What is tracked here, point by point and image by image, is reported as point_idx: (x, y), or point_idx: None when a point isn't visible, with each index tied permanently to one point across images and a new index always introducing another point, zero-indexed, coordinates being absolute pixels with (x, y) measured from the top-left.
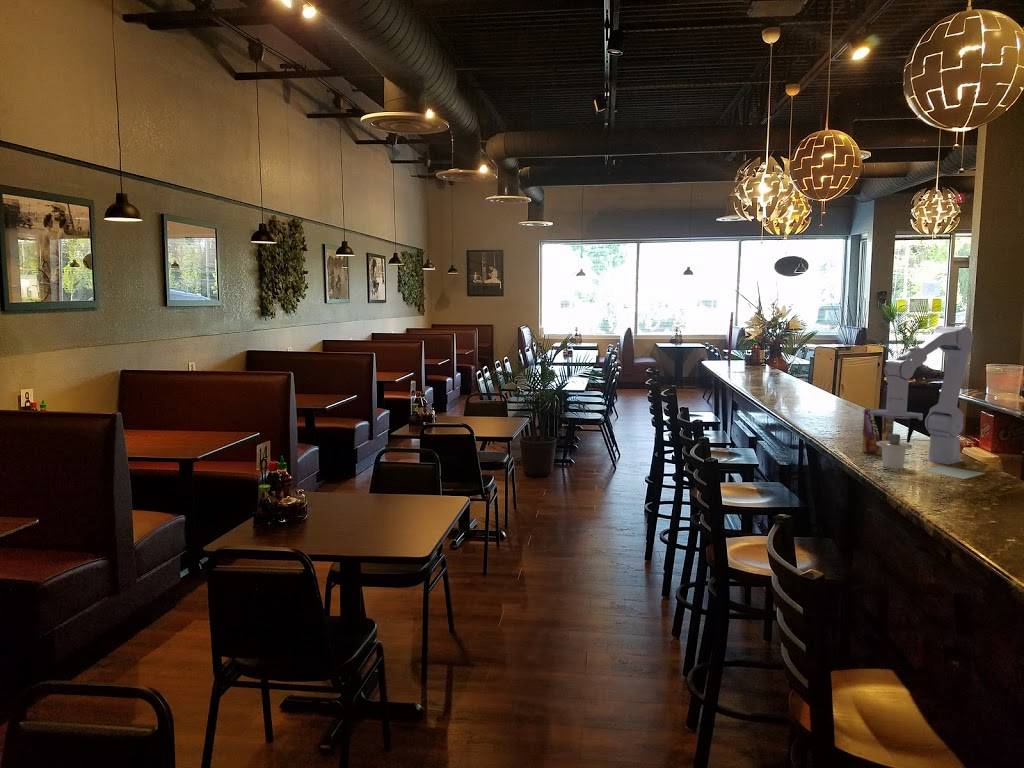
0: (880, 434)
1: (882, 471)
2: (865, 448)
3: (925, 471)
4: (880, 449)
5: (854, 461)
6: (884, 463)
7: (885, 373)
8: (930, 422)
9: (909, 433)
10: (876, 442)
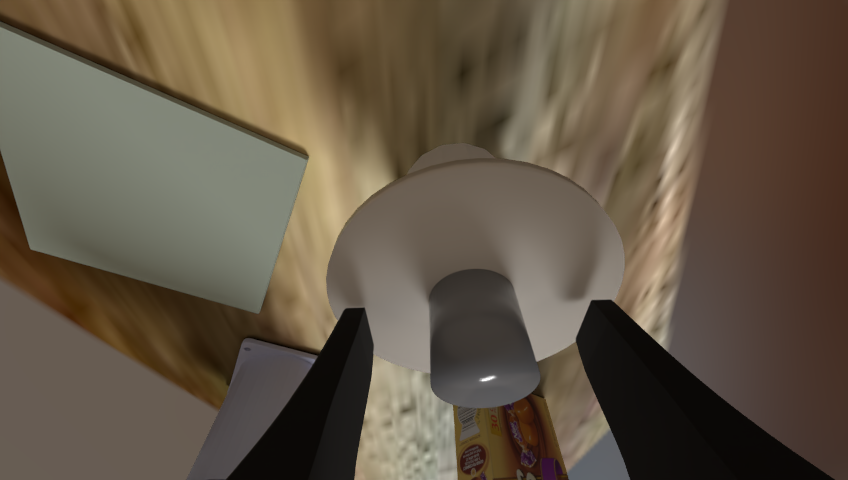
0: (649, 348)
1: (531, 26)
2: (539, 408)
3: (267, 143)
4: None
5: (634, 248)
6: None
7: None
8: None
9: (322, 394)
10: (614, 299)
